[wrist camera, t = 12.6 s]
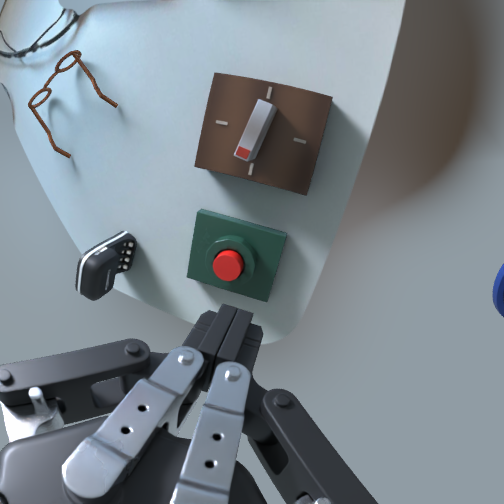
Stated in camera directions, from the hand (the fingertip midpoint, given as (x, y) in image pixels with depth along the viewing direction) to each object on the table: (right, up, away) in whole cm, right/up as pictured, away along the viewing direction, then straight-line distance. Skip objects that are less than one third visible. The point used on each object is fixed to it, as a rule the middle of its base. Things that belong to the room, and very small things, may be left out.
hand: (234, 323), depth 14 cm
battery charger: (-19, +3, +33) cm, 38 cm away
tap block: (+2, +18, +22) cm, 29 cm away
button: (-2, +2, +26) cm, 26 cm away
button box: (-1, +3, +29) cm, 29 cm away
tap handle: (+2, +17, +19) cm, 26 cm away
